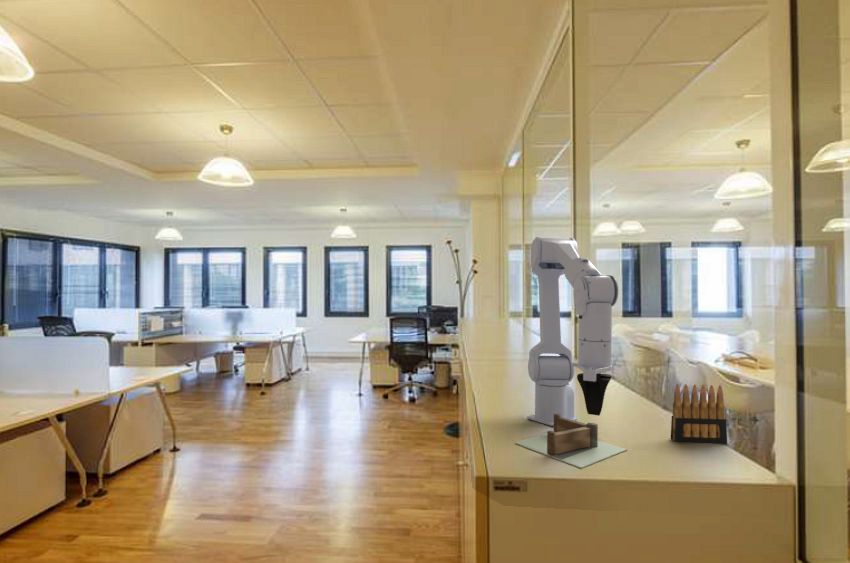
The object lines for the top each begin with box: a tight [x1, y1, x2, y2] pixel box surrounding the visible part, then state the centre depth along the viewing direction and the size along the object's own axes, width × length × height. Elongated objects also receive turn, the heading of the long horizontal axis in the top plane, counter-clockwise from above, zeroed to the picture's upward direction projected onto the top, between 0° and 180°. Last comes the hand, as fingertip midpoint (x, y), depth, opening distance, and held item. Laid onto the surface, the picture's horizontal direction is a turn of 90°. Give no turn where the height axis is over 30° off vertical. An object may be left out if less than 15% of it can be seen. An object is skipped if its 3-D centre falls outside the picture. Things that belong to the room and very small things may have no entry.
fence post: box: [553, 414, 599, 448], centre depth 89 cm, size 2×10×4 cm, turn 37°
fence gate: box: [547, 427, 590, 455], centre depth 82 cm, size 11×1×4 cm, turn 119°
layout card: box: [514, 433, 628, 469], centre depth 85 cm, size 16×15×1 cm
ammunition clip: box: [670, 383, 728, 445], centre depth 90 cm, size 11×2×12 cm, turn 88°
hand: (594, 414), depth 79 cm, fingers closed
